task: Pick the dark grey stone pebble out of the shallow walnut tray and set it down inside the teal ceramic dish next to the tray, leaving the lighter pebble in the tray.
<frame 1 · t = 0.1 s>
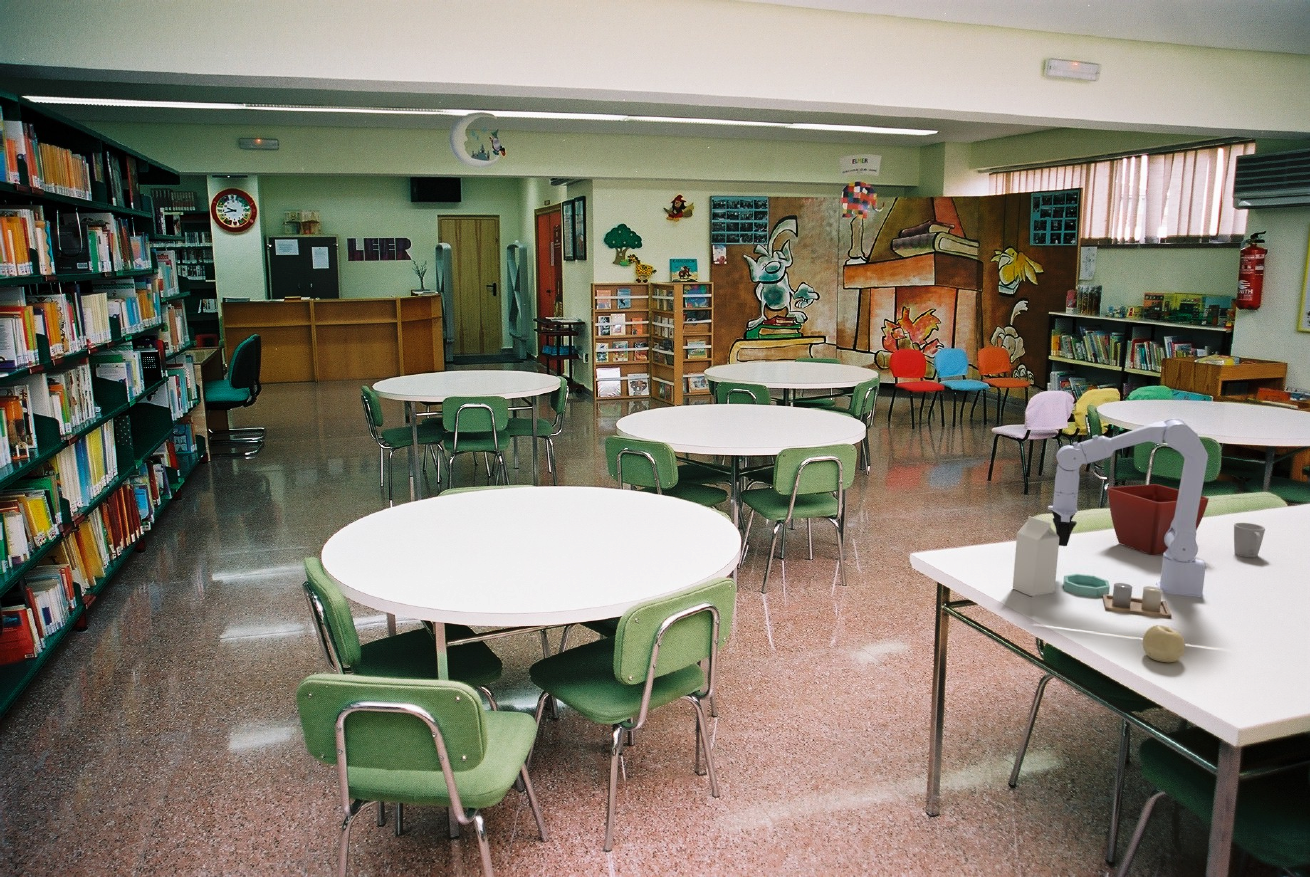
hand: (1061, 541, 245), 10 cm above the table, tool pointing down, fingers open, 7 cm apart
cup: (1247, 556, 267), on the table
dish: (1085, 590, 237), on the table
plant pot: (1151, 548, 274), on the table
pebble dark: (1121, 605, 226), resting on tray
milk carton: (1033, 592, 237), on the table
pebble light: (1150, 608, 224), resting on tray
tray: (1135, 609, 225), on the table
apple: (1162, 659, 197), on the table
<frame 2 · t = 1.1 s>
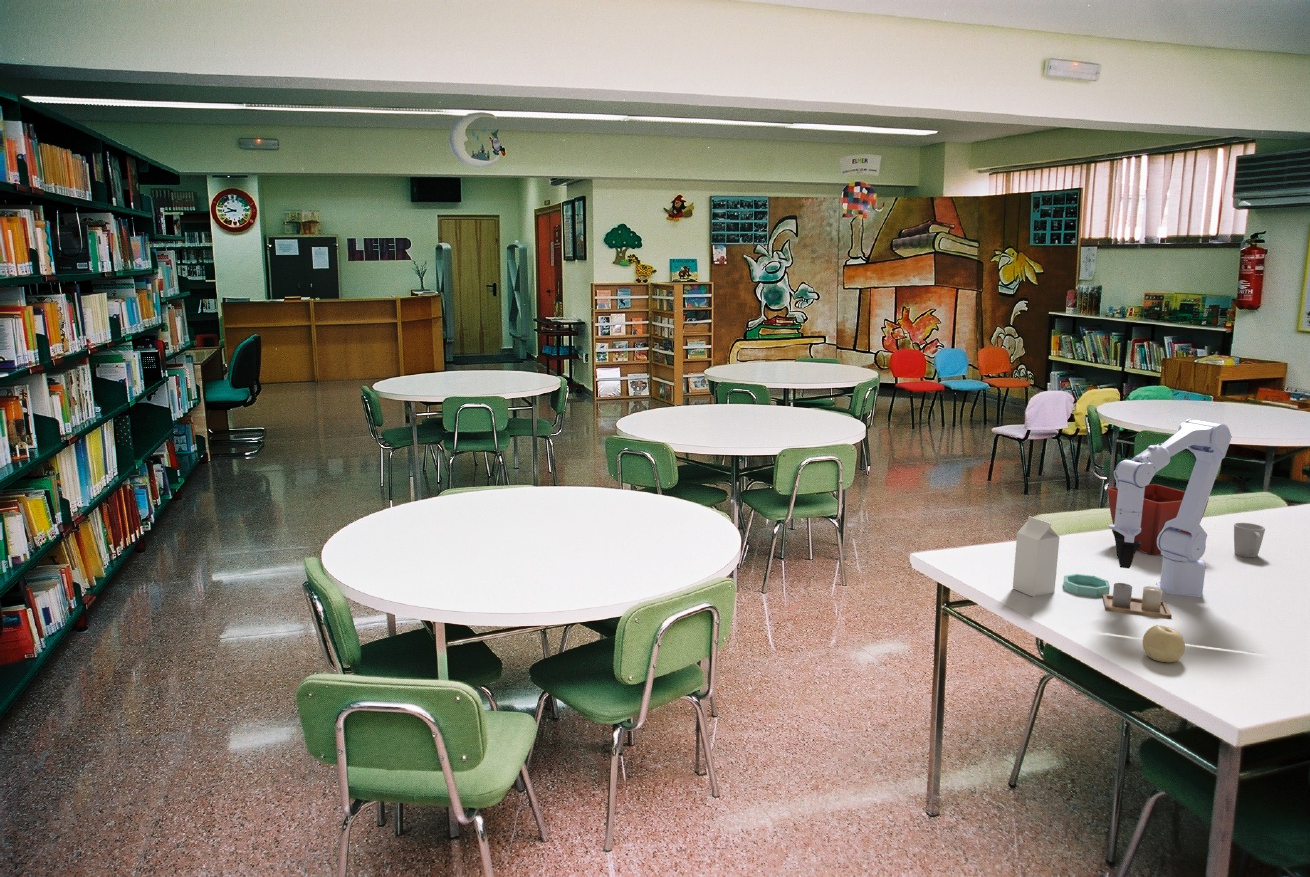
hand: (1123, 563, 228), 10 cm above the table, tool pointing down, fingers open, 7 cm apart
nothing on the table moved.
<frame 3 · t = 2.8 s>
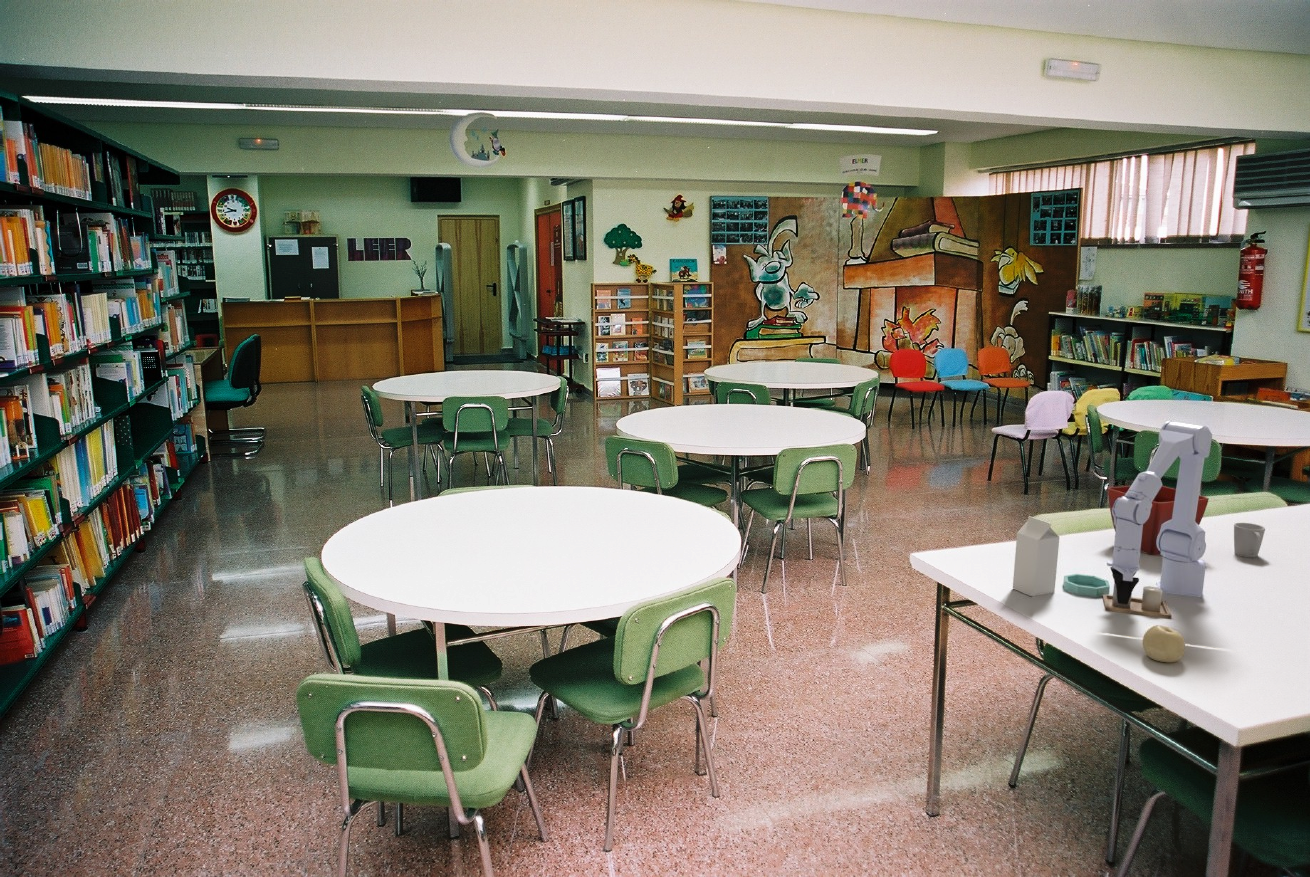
hand: (1121, 600, 226), 2 cm above the table, tool pointing down, fingers closed on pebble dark, 4 cm apart
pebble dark: (1121, 605, 226), point 1 cm above the table, touching gripper, tray
everything else where it was.
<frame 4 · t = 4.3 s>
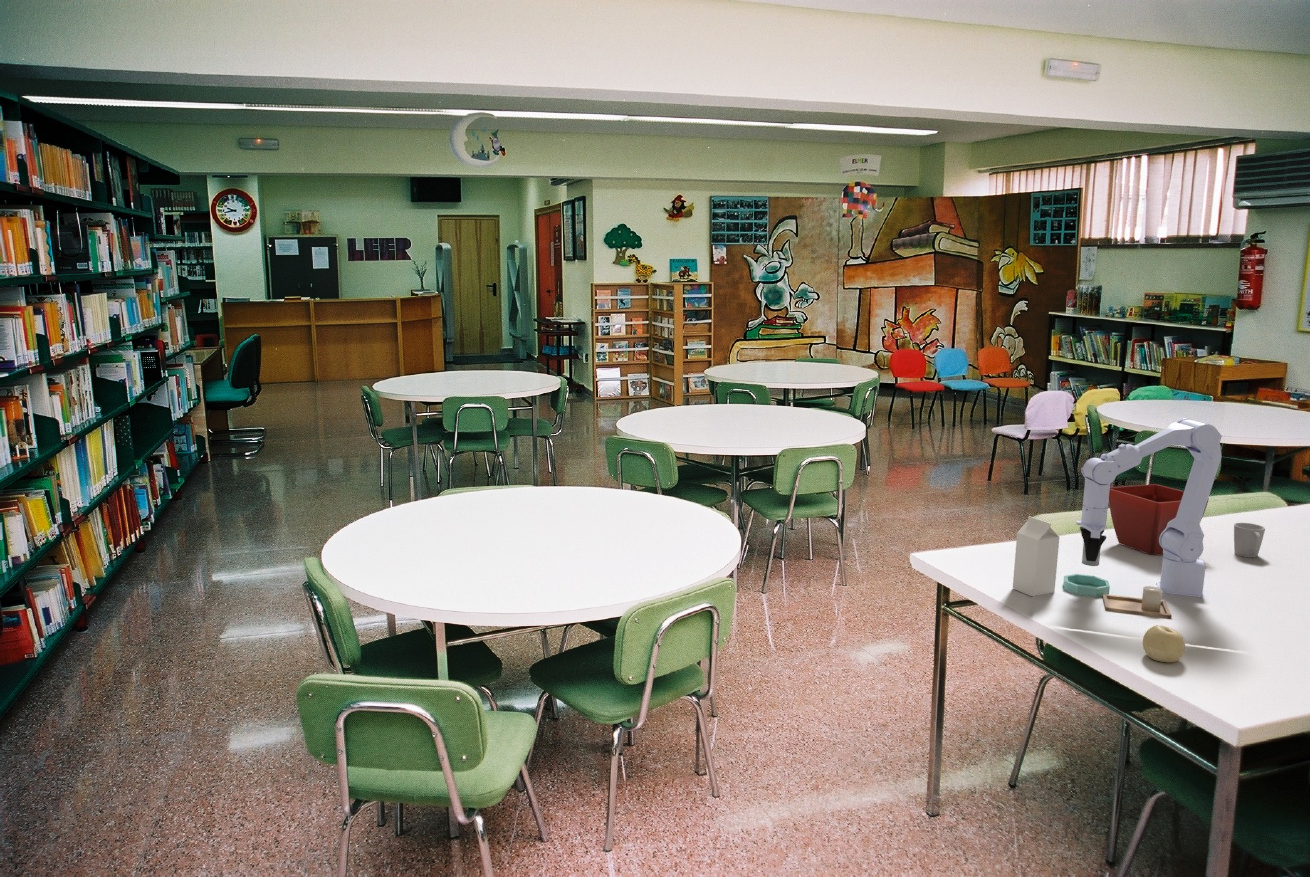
hand: (1090, 558, 235), 9 cm above the table, tool pointing down, fingers closed on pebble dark, 4 cm apart
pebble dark: (1090, 563, 235), point 7 cm above the table, touching gripper
everything else where it was.
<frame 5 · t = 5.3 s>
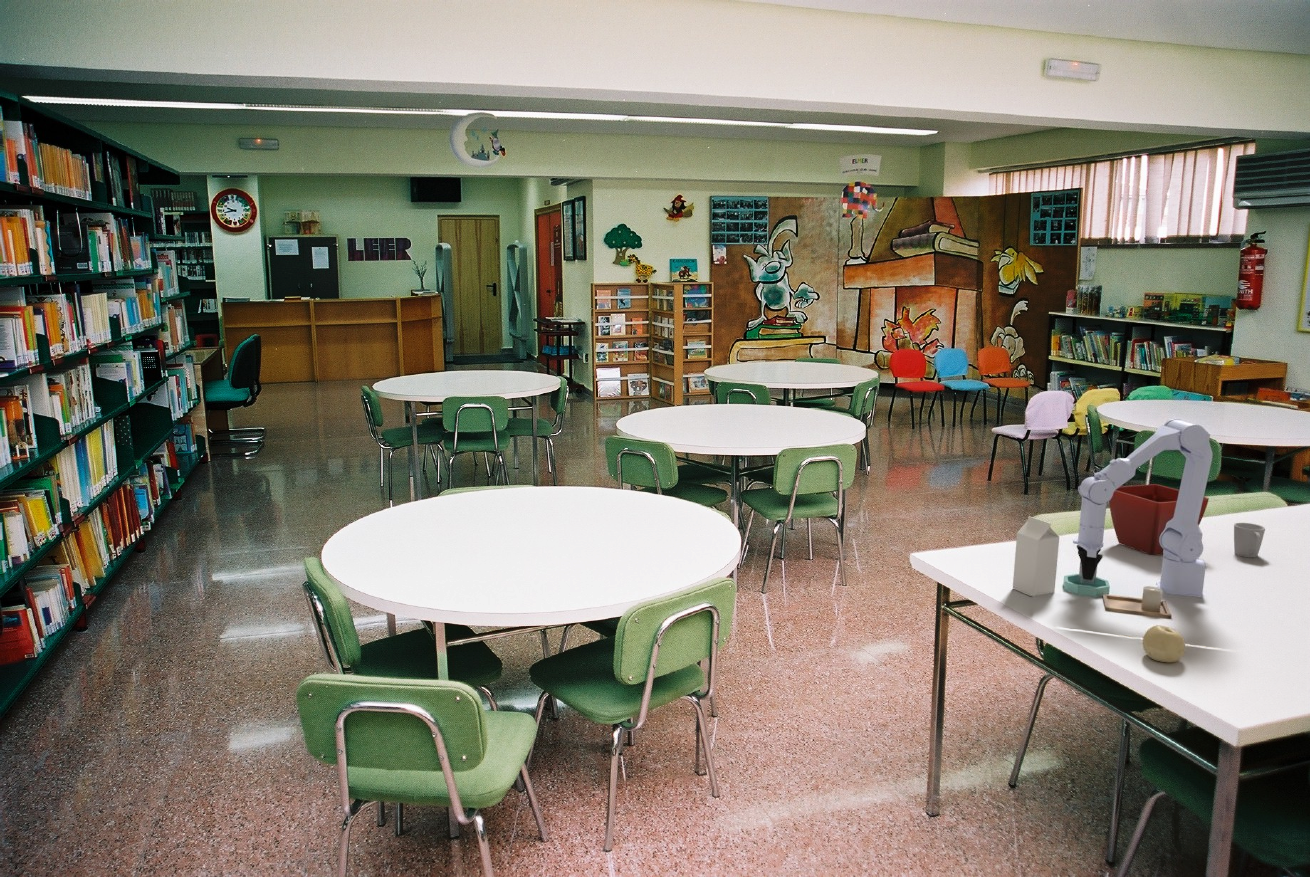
hand: (1086, 576, 237), 4 cm above the table, tool pointing down, fingers closed on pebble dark, 4 cm apart
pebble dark: (1086, 581, 237), point 2 cm above the table, touching gripper
everything else where it was.
when the fingers open (4 cm above the table, at t = 5.8 s): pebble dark drops 2 cm, resting on dish.
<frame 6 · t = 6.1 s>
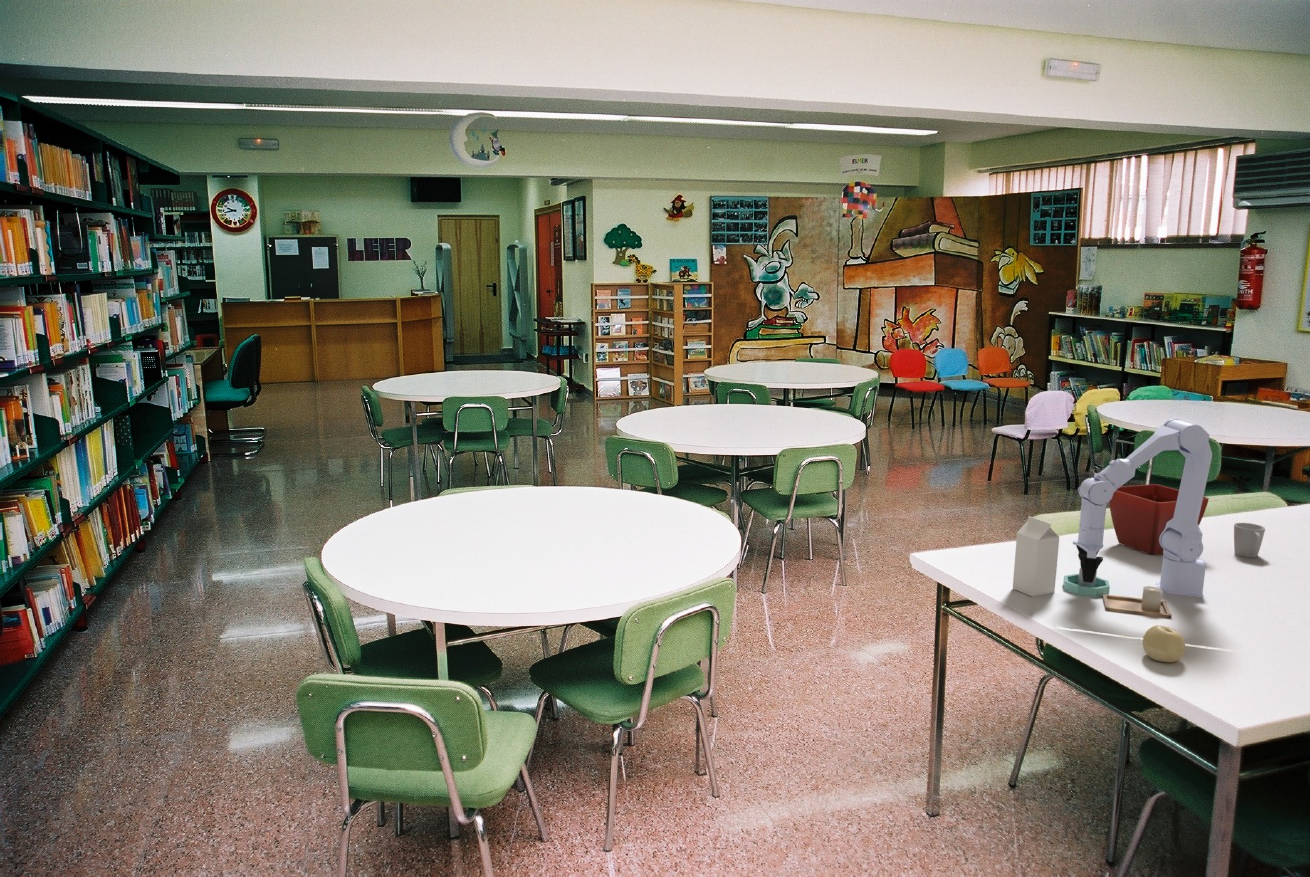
hand: (1086, 577, 237), 4 cm above the table, tool pointing down, fingers open, 7 cm apart
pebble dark: (1086, 588, 237), resting on dish
everything else where it was.
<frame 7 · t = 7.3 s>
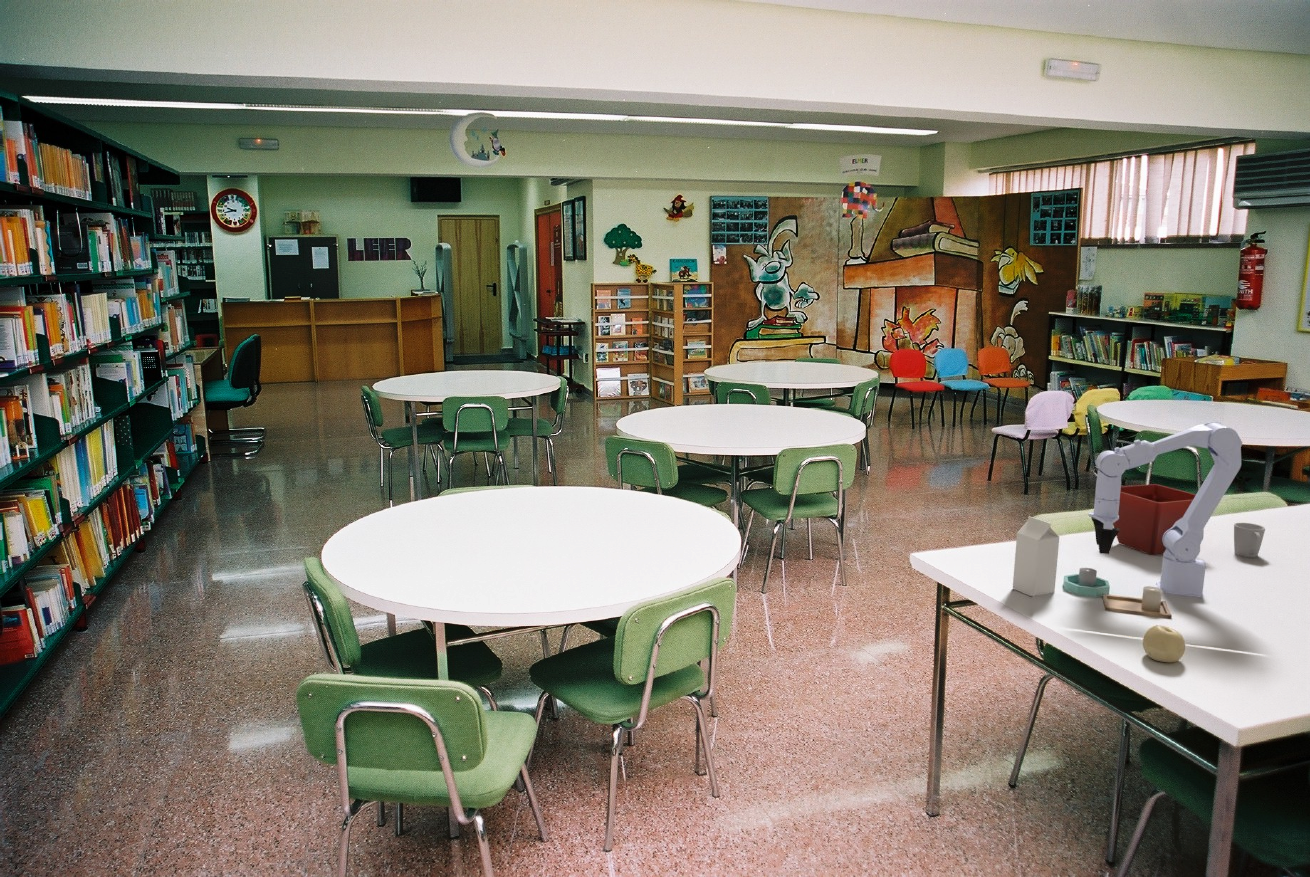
hand: (1102, 549, 240), 10 cm above the table, tool pointing down, fingers open, 7 cm apart
nothing on the table moved.
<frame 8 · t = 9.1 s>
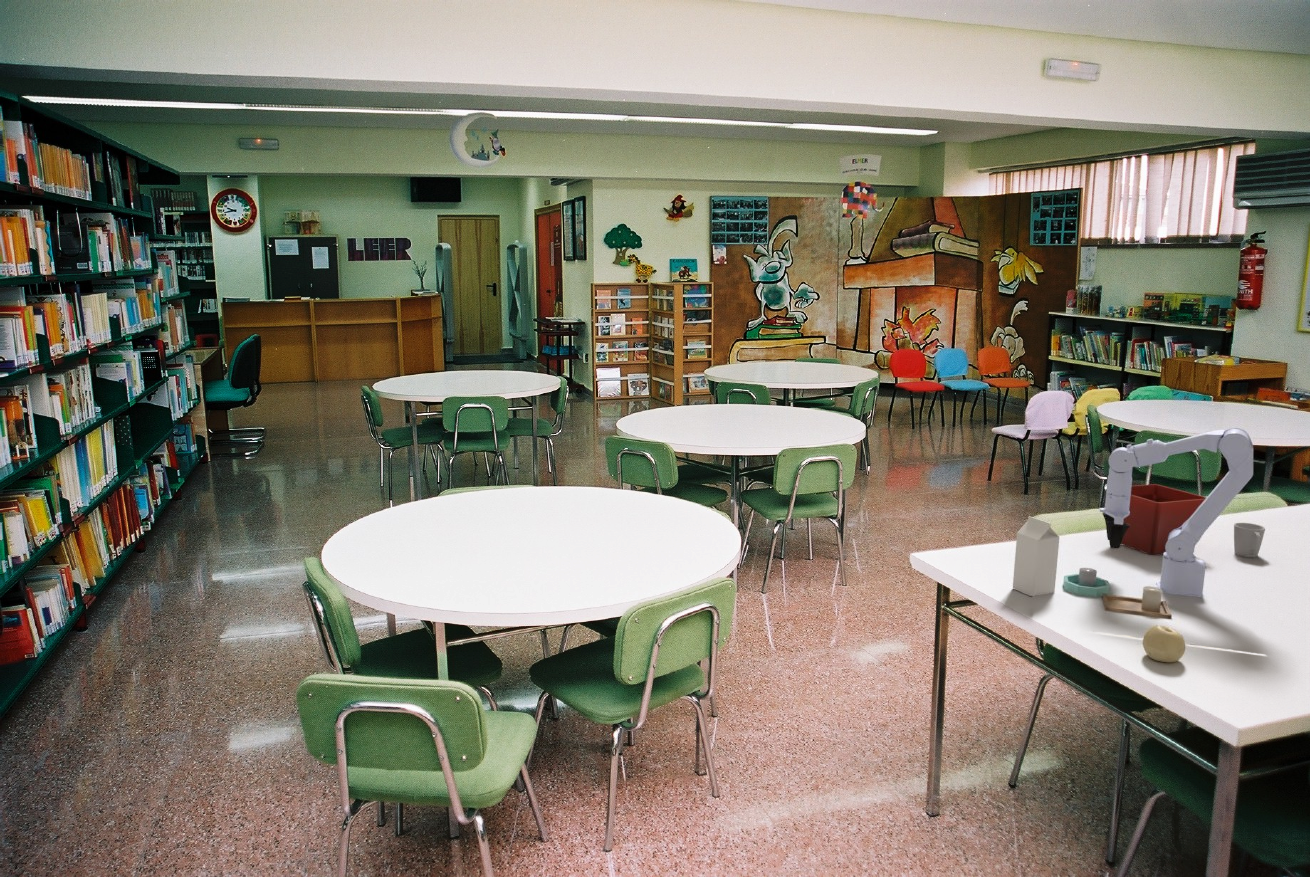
hand: (1113, 544, 244), 10 cm above the table, tool pointing down, fingers open, 7 cm apart
nothing on the table moved.
at the end: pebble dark 0.1 cm from the dish (horizontally); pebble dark point 0.5 cm above the table; pebble light moved 0.1 cm from its start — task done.
